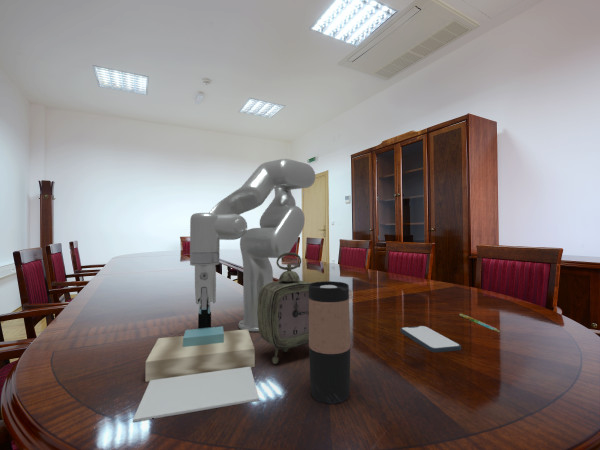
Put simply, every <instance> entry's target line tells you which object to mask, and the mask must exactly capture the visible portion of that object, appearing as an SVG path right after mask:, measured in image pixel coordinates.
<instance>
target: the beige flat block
mask: <svg viewBox="0 0 600 450" xmlns="http://www.w3.org/2000/svg"><path fill="white" fill-rule="evenodd" d="M183 337H184V335H179V336H178V335H177V336H170V337H169V336H168V337H158V338H157V340H156V342H155V344H154V346H153V348H152V350H151V351H150V353H149V355H148V357H147V358H146V360H145V382H148V383H149V382H150V380H156V379H164V378H171V377H178V376H185V375H193V374H200V373H207V372H214V371H222V370H229V369H236V368H243V367H251V368H253V367H254V368H255V366H256V363H255V362H256V361H255V358H256V356H255V355H256V353H255V352H256V351H255V349H256V348H255V346H254V343H253V341H252V337H251V335H250V331H248V329H245V330H242V329H237V330H236V329H235V330H227V331H226V330H225V331H224V343H215V344H206V345H197V346H188V347H183Z"/></svg>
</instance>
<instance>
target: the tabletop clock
mask: <svg viewBox="0 0 600 450" xmlns="http://www.w3.org/2000/svg"><path fill="white" fill-rule="evenodd" d="M283 256H284V257H286V256H294V257H296V258H298V260H299V262H298V263H297V264H296V265H293V266H292V264H291V263H287V265H286V266H282V265H280V263H279V261H280V259H282V258H284V257H283ZM281 257H282V258H281ZM275 263H276V266H277V267H278V268H279V269H280V270H282V271H283V270H284V271H283V272H282V273H281V274H280V275H279V278H278V280H275V281H273V282H271V283H268V284H265V285H264V286H262V287H261V289H260V292H259V297H258V310H257V316H258V327H259V331H258V332H259V334H260V337H261V339H263V340H264V341H265V342H267V343H268V344H269V345H271V346H272V347H274V356H272V358H271V363H272V364H273V365H277V364H278V363H279V357H278V354H279V350H280V349H281V350H282V352H283V353H287V352H289V349H292V348H293V349H294V348H299V347H301V346H304V345H309V284H311V283H312V282H308V281H303V280H300V276H299V274H298V273H297V272H296V271H294V270H295V269H297V268H299V266H301V264H302V258H301V256H300V255H299V254H298V253H296V252H289V253H283V254H282V255H280V256H279V257H278V258H276V262H275Z"/></svg>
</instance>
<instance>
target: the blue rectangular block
mask: <svg viewBox="0 0 600 450" xmlns="http://www.w3.org/2000/svg"><path fill="white" fill-rule="evenodd" d="M224 332H225V331H224V326H222V325H221V326H213V327H212V326H211V328H201V329H198V328H193V329H185V331H184V333H183V334H184V335H183V336H184V337H183V347H188V346H197V345H206V344H215V343H224Z"/></svg>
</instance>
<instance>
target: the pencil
mask: <svg viewBox="0 0 600 450" xmlns="http://www.w3.org/2000/svg"><path fill="white" fill-rule="evenodd" d="M459 317H462V318H463V319H466V320H469V321H471V322H472V323H473V322H474V323H475V324H478V325H480V326H482V327H484V328H487V329H489V330H491V331H494V332H497V333H501V331H500V330H499V329H497V327H494V326H492V325H489V324H488V323H486V322H482V321H480V320H478V319H475V318H473V317H471V316H468V315H466V314H463V313H459Z"/></svg>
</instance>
